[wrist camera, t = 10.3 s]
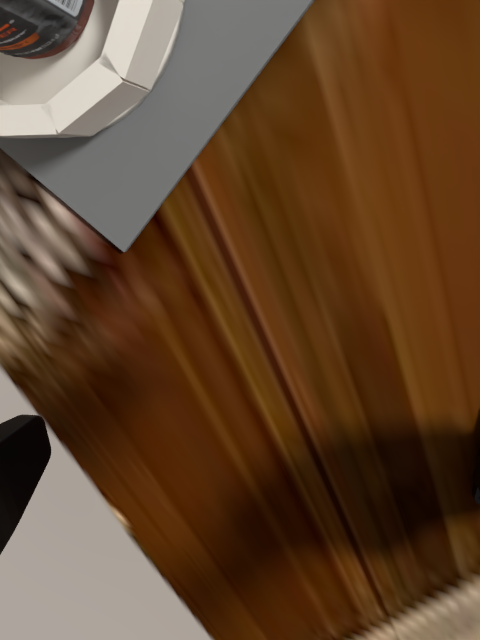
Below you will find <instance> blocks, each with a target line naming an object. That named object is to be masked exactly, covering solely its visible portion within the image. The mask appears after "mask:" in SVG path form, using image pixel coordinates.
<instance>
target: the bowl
mask: <svg viewBox="0 0 480 640" xmlns="http://www.w3.org/2000/svg"><path fill="white" fill-rule="evenodd" d="M184 8H185V0H95V1H94V6H93V9H92V12H91V15H90V17H89V20H88V23H87V25H86V27H85V29H84V30H83V32H82V33H81V35H80V36H79V38H78V40H77V41H76V42H74V43H72V44H71V45H70V46H69V47H68V48H67V49H65V50H64V51H62V52H60V53H58V54H56V55H54V56H51V57H46V58H41V59H25V58H20V57H13V56H10V55H5V54H3V53H1V52H0V137H5V138H54V137H58V138H71V137H91V136H93V135H95V134H96V133H97V132H100V131H102V130H104V129H106V128H109V127H111V126H113V125H115V124H116V123H118V122H119V121H121V120H122V119H124V118H125V117H127V116H128V115H129V114H131V113H132V112H133V111H134V110H135V109H136V108H137V107H138V106H139V105H141V104H142V102H143V101H144V100H145V99H146V98H147V96H148V95H149V94H150V93H151V92H152V90H153V89H154V88H155V86H156V84H157V83H158V81H159V80H160V78H161V76H162V75H163V73H164V71H165V69H166V67H167V65H168V63H169V60H170V58H171V56H172V54H173V51H174V48H175V45H176V42H177V39H178V36H179V33H180V28H181V23H182V18H183V14H184Z"/></svg>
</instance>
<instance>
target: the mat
mask: <svg viewBox="0 0 480 640" xmlns="http://www.w3.org/2000/svg"><path fill="white" fill-rule="evenodd" d="M313 2H314V0H185V8H184V14H183V18H182V23H181V28H180V33H179V36H178V39H177V42H176V45H175V48H174V51H173V54H172V56H171V58H170V60H169V63H168V65H167V67H166V69H165V71H164V73H163V75H162V76H161V78H160V80H159V81H158V83H157V84H156V86H155V88H154V89H153V90H152V92H151V93H150V94H149V95H148V96H147V98H146V99H145V100H144V101H143V102H142V104H141V105H139V106H138V107H137V108H136V109H135V110H134V111H133V112H132V113H131V114H129V115H128V116H127V117H125V118H124V119H122V120H121V121H119V122H118V123H116V124H115V125H113V126H111V127H109V128H106V129H104V130H102V131H100V132H97V133H96V134H95V135H93V136H91V137H71V138H58V137H54V138H5V137H0V148H1V149H2V150H3V151H4V152H5V153H6V154H8V155H9V156H10V157H11V158H12V159H14V160H15V161H16V162H17V163H18V164H19V165H21V166H22V167H23V168H24V169H25V170H27V171H28V172H29V173H30V174H31V175H33V176H34V177H35V178H36V179H37V180H38V181H40V182H41V183H42V184H43V185H44V186H46V187H47V188H48V189H49V190H50V191H52V192H53V193H54V194H55V195H56V196H57V197H59V198H60V199H61V200H62V201H63V202H65V203H66V204H67V205H68V206H69V207H71V208H72V209H73V210H74V211H75V212H76V213H78V214H79V215H80V216H81V217H82V218H84V219H85V220H86V221H87V222H88V223H90V224H91V225H92V226H93V227H94V228H95V229H97V230H98V231H99V232H100V233H101V234H103V235H104V236H105V237H106V238H107V239H108V240H110V241H111V242H112V243H113V244H114V245H116V246H117V247H118V248H119V249H120V250H122V251H123V252H126V251H127V250H128V249H129V247H130V246H131V245H132V243H133V242H134V241H135V239H136V238H137V237H138V235H139V234H140V233H141V231H142V230H143V229H144V227H145V226H146V225H147V223H148V222H149V221H150V219H151V218H152V217H153V215H154V214H155V213H156V211H157V210H158V209H159V207H160V206H161V205H162V203H163V202H164V201H165V199H166V198H167V197H168V195H169V194H170V193H171V191H172V190H173V189H174V187H175V186H176V185H177V183H178V182H179V181H180V179H181V178H182V177H183V175H184V174H185V173H186V171H187V170H188V169H189V167H190V166H191V165H192V163H193V162H194V161H195V159H196V158H197V157H198V155H199V154H200V153H201V151H202V150H203V149H204V147H205V146H206V145H207V143H208V142H209V141H210V139H211V138H212V137H213V135H214V134H215V133H216V131H217V130H218V129H219V127H220V126H221V125H222V123H223V122H224V121H225V119H226V118H227V117H228V115H229V114H230V113H231V111H232V110H233V109H234V107H235V106H236V105H237V103H238V102H239V100H240V99H241V98H242V96H243V95H244V94H245V92H246V91H247V90H248V88H249V87H250V86H251V84H252V83H253V82H254V80H255V79H256V78H257V76H258V75H259V74H260V72H261V71H262V70H263V68H264V67H265V66H266V64H267V63H268V62H269V60H270V59H271V58H272V56H273V55H274V54H275V52H276V51H277V50H278V48H279V47H280V46H281V44H282V43H283V42H284V40H285V39H286V38H287V36H288V35H289V34H290V32H291V31H292V30H293V28H294V27H295V26H296V24H297V23H298V22H299V20H300V19H301V18H302V16H303V15H304V14H305V12H306V11H307V10H308V8H309V7H310V6H311V4H312V3H313Z"/></svg>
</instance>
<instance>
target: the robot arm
mask: <svg viewBox="0 0 480 640" xmlns="http://www.w3.org/2000/svg"><path fill="white" fill-rule="evenodd" d="M50 456H51V446H50V442H49V438H48V434H47V430H46V426H45V422H44V420H43V418H42V417H40V416H37V415H19V416H16V417H14V418H12V419H10V420H8V421H6V422H3V423H1V424H0V554H1V553H2V551H3V549H4V548H5V546H6V544H7V542H8V541H9V539H10V537H11V536H12V534H13V532H14V530H15V528H16V527H17V525H18V523H19V521H20V519H21V517H22V515H23V513H24V511H25V509H26V506H27V505H28V502H29V501H30V499H31V497H32V494H33V492H34V490H35V488H36V486H37V484H38V482H39V480H40V478H41V476H42V474H43V472H44V470H45V468H46V466H47V464H48V462H49V459H50ZM473 479H474V481H475V482H474V486H473V490H472V495H473V497H474V499H475V501H476V502H477V503H478V504H480V451H479V455H478V459H477V463H476V467H475V470H474V474H473Z"/></svg>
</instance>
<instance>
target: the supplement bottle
mask: <svg viewBox="0 0 480 640" xmlns="http://www.w3.org/2000/svg"><path fill="white" fill-rule="evenodd" d="M94 1H95V0H0V52H1V53H3V54H5V55H10V56H13V57H20V58H25V59H41V58H46V57H51V56H54V55H56V54H58V53H60V52H62V51H64V50H65V49H67V48H68V47H69V46H70V45H71V44H72V43H74V42H76V41H77V40H78V38H79V36H80V35H81V33H82V32H83V30H84V29H85V27H86V25H87V23H88V20H89V17H90V15H91V12H92V9H93V6H94Z"/></svg>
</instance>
